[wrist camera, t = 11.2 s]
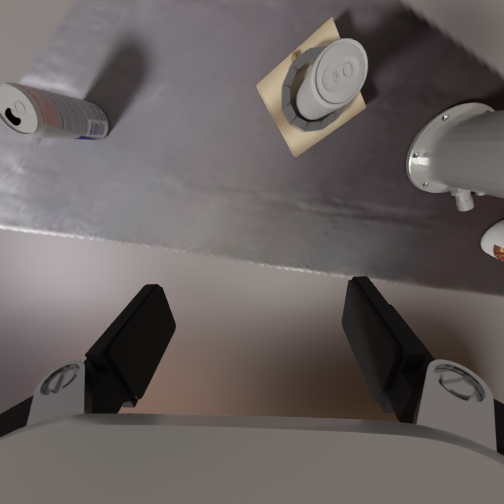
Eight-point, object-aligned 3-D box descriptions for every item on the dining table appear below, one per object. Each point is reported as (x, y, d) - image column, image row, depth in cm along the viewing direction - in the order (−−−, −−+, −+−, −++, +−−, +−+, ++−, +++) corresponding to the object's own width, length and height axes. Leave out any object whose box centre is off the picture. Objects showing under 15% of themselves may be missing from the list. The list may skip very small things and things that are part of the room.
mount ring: (354, 104, 28) (361, 101, 26) (299, 144, 31) (302, 144, 29) (327, 36, 25) (332, 26, 23) (269, 87, 28) (269, 82, 26)
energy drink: (70, 115, 33) (-20, 102, 23) (90, 93, 32) (2, 67, 21) (97, 146, 35) (25, 147, 25) (116, 127, 34) (48, 118, 23)
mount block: (357, 110, 31) (368, 106, 28) (294, 156, 34) (296, 157, 31) (325, 29, 27) (333, 13, 24) (257, 90, 30) (256, 83, 27)
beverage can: (290, 89, 28) (305, 55, 17) (325, 71, 27) (365, 21, 16) (300, 127, 30) (319, 117, 19) (333, 111, 29) (373, 91, 18)
